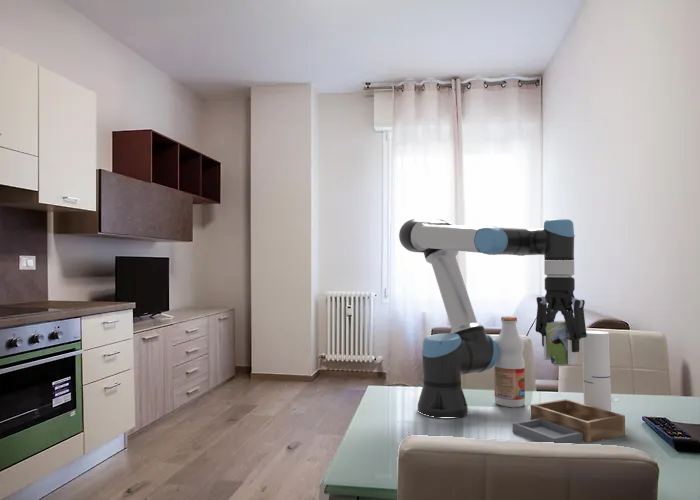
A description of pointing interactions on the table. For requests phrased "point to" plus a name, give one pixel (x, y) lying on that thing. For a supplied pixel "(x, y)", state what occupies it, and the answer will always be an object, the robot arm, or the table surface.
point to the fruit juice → (509, 366)
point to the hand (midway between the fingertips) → (560, 361)
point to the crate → (581, 419)
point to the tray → (547, 431)
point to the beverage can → (558, 342)
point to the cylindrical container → (596, 370)
